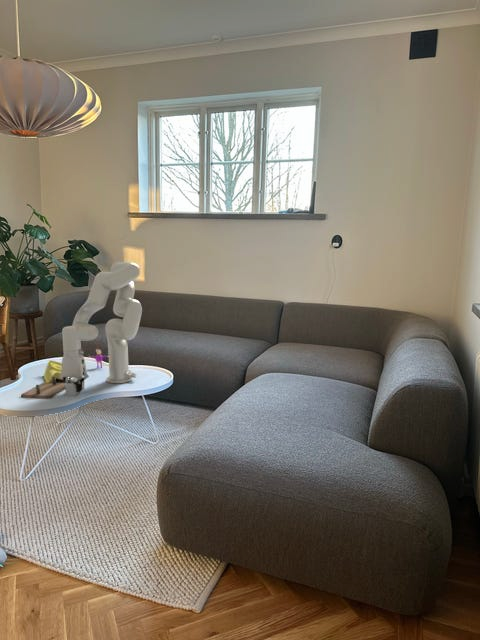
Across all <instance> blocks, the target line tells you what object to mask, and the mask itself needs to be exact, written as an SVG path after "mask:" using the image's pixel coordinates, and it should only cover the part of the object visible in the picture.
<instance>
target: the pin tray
mask: <svg viewBox="0 0 480 640" xmlns="http://www.w3.org/2000/svg"><path fill="white" fill-rule="evenodd" d="M52 379H53V381H52V382H51V383H48V382H46V381H43V382H42V383H39V384H36V385H35V386H34V387H32V388H31V389H28V390H26V391H25V392H23V393H21V394H20V397H21V398H30V399H31V398H33V399H35V398H36V399H52V398H53V397H55V396H56V395H58V394H60V393H61V392H63V391H66V389H65V382H57V381H56V380H57V378H56V377H55V376H52Z"/></svg>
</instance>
